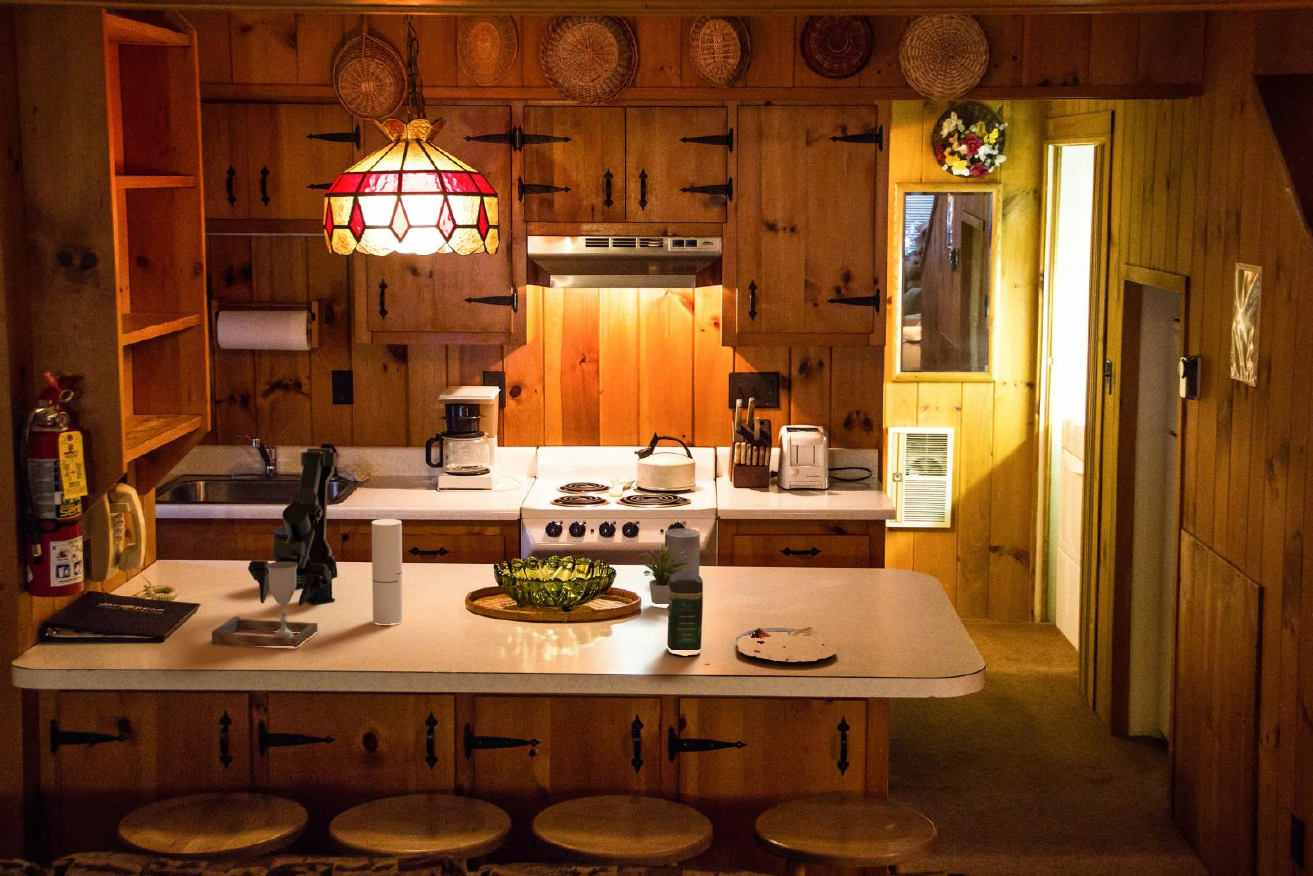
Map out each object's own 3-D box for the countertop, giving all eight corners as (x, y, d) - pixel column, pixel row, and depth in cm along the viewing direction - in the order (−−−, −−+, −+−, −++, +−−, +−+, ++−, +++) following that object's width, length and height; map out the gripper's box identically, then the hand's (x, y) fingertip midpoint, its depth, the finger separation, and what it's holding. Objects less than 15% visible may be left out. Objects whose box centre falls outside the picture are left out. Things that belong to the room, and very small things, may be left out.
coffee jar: (702, 658, 334) (704, 579, 331) (668, 657, 333) (670, 578, 330) (699, 645, 343) (701, 568, 340) (666, 645, 343) (667, 568, 340)
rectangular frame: (317, 633, 347) (317, 621, 346) (296, 649, 334) (296, 637, 333) (235, 628, 349) (235, 616, 349) (212, 644, 337) (211, 631, 336)
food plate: (735, 633, 353) (735, 619, 352) (831, 637, 352) (832, 623, 351) (737, 669, 328) (738, 654, 327) (841, 673, 327) (842, 658, 327)
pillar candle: (666, 575, 407) (667, 523, 405) (701, 577, 406) (702, 524, 403) (661, 584, 398) (662, 531, 395) (697, 586, 396) (698, 532, 394)
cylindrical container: (408, 620, 359) (407, 520, 355) (391, 627, 352) (390, 526, 349) (384, 616, 362) (383, 517, 358) (366, 623, 355) (365, 523, 351)
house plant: (657, 617, 365) (658, 554, 363) (621, 605, 375) (622, 544, 373) (698, 608, 374) (700, 546, 372) (663, 596, 385) (664, 536, 382)
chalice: (271, 645, 336) (269, 569, 334) (264, 637, 342) (263, 563, 339) (303, 642, 340) (301, 566, 337) (296, 634, 346) (294, 560, 343)
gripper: (250, 526, 342) (231, 584, 333) (326, 530, 340) (309, 588, 330) (264, 551, 351) (246, 608, 342) (338, 555, 348) (322, 612, 339)
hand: (280, 603), depth 338 cm, fingers open, 9 cm apart
